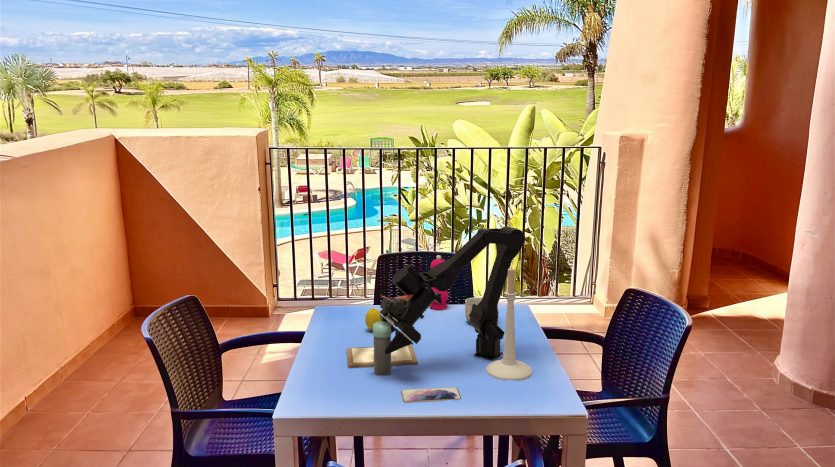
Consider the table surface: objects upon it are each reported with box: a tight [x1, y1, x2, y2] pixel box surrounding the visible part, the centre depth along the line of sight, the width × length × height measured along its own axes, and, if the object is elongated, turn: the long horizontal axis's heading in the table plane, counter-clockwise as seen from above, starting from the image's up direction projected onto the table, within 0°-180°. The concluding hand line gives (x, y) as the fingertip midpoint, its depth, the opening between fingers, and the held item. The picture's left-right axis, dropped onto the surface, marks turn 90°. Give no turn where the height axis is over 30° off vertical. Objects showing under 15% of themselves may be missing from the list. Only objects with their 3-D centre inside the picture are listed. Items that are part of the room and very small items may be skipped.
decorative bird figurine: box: [380, 295, 412, 302], centre depth 236 cm, size 3×18×10 cm, turn 59°
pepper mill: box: [429, 254, 449, 311], centre depth 244 cm, size 7×7×20 cm
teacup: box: [464, 297, 500, 322], centre depth 226 cm, size 14×11×8 cm
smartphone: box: [400, 386, 462, 404], centre depth 171 cm, size 7×1×15 cm
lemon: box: [364, 307, 382, 331], centre depth 219 cm, size 6×6×8 cm
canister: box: [372, 322, 392, 377], centre depth 184 cm, size 5×5×14 cm
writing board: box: [346, 344, 419, 369], centre depth 197 cm, size 20×14×1 cm
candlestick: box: [485, 267, 533, 382], centre depth 183 cm, size 13×13×30 cm
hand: (379, 347), depth 184 cm, fingers open, 9 cm apart
